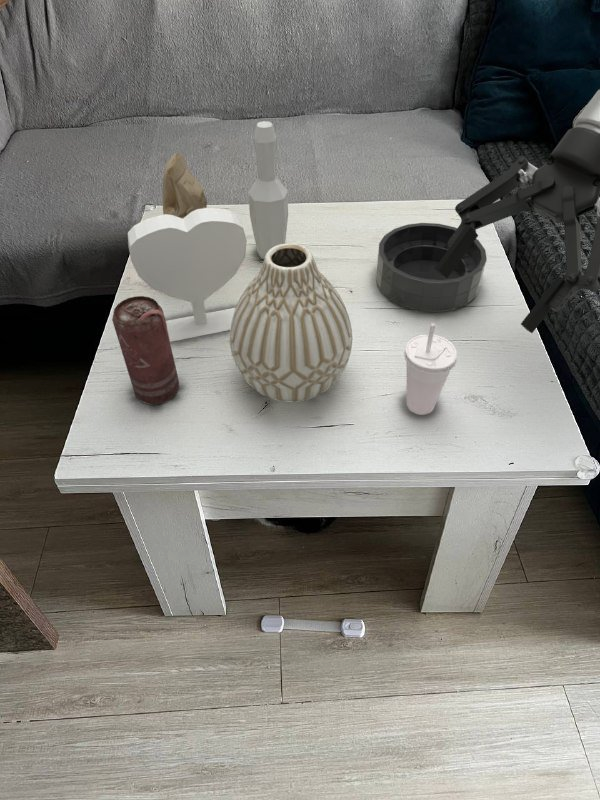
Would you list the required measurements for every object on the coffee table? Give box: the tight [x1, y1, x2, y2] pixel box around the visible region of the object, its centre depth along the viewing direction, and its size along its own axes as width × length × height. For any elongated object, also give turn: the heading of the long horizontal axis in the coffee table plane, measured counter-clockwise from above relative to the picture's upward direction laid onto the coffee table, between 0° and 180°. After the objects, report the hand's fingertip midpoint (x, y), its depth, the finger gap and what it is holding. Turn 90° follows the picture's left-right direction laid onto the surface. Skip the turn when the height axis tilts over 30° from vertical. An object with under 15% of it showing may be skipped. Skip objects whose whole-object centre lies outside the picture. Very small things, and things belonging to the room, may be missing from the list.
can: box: [111, 295, 180, 406], centre depth 77 cm, size 6×6×14 cm
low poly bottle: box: [247, 120, 289, 260], centre depth 97 cm, size 6×6×22 cm
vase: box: [229, 242, 353, 403], centre depth 76 cm, size 16×16×20 cm
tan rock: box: [162, 152, 208, 219], centre depth 93 cm, size 13×7×20 cm, turn 171°
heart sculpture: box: [127, 207, 248, 343], centre depth 85 cm, size 16×5×18 cm, turn 107°
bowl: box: [375, 222, 488, 313], centre depth 96 cm, size 17×17×6 cm
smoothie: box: [403, 322, 458, 416], centre depth 75 cm, size 6×6×14 cm
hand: (481, 300), depth 73 cm, fingers open, 13 cm apart
